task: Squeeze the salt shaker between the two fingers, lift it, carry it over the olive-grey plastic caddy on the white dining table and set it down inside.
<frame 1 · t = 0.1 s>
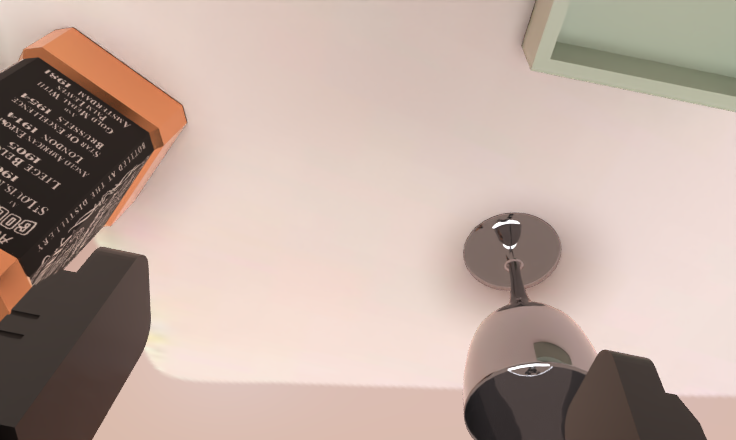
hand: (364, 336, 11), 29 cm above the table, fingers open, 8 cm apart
whiskey bottle: (100, 120, 42), on the table
wine glass: (511, 251, 45), on the table
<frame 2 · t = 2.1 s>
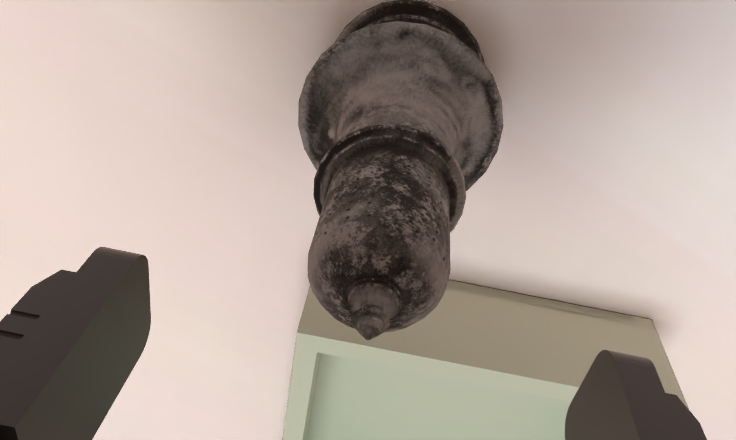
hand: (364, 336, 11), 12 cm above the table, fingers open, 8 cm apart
salt shaker: (405, 78, 20), on the table
caddy: (445, 395, 29), on the table
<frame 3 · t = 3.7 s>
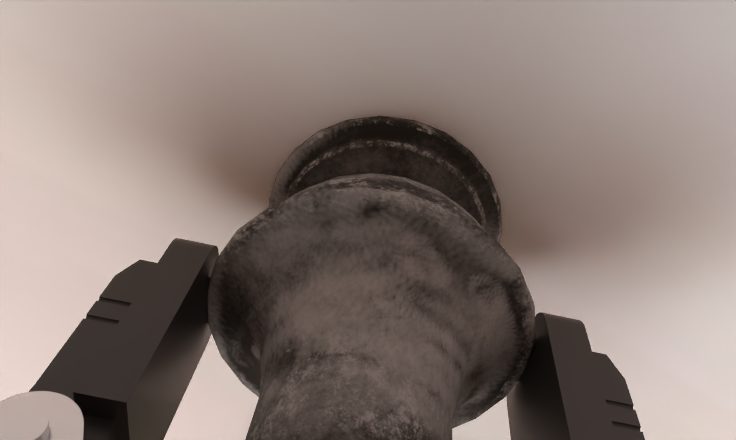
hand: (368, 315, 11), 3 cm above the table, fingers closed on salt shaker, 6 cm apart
salt shaker: (384, 219, 14), on the table, touching gripper
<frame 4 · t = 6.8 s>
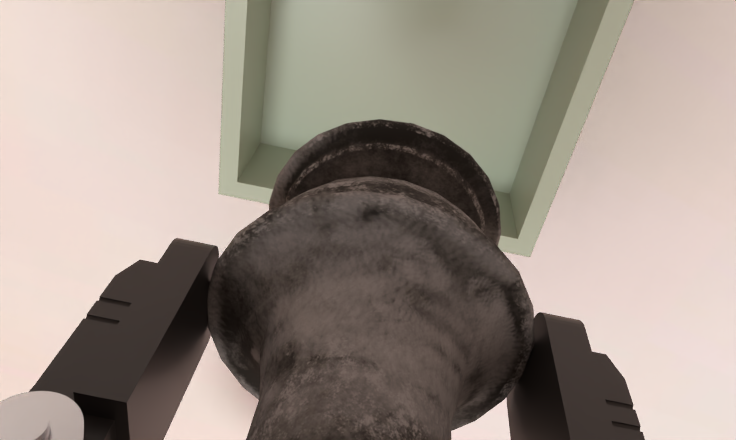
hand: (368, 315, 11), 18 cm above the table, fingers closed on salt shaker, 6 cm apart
salt shaker: (383, 222, 14), point 15 cm above the table, touching gripper
caddy: (412, 39, 26), on the table
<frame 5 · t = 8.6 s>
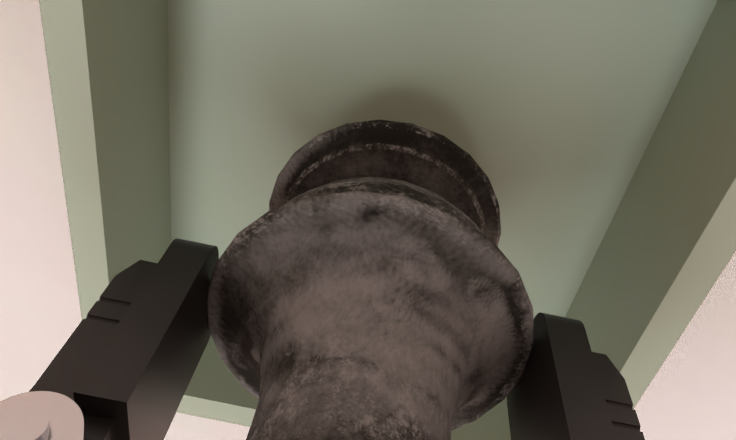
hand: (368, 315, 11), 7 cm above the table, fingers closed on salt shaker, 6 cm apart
salt shaker: (383, 222, 14), point 3 cm above the table, touching gripper
caddy: (395, 153, 17), on the table
when the fingers open (6 cm above the table, at t = 9.8 s): salt shaker drops 2 cm, resting on caddy.
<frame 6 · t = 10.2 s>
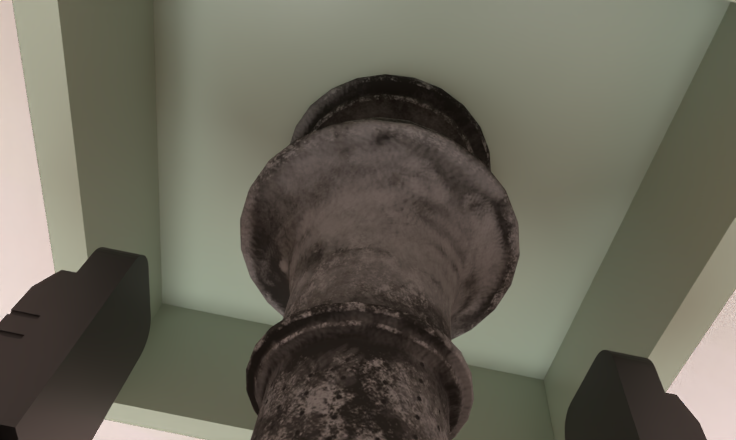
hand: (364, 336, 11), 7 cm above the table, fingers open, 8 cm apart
salt shaker: (388, 169, 16), resting on caddy
caddy: (391, 164, 16), on the table
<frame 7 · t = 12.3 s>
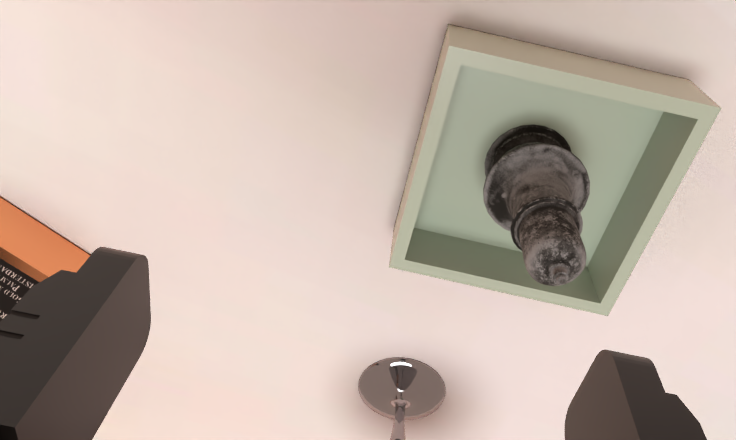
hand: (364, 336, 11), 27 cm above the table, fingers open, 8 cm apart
salt shaker: (527, 163, 37), resting on caddy
whiskey bottle: (24, 267, 46), on the table
caddy: (527, 161, 37), on the table
wine glass: (401, 387, 49), on the table
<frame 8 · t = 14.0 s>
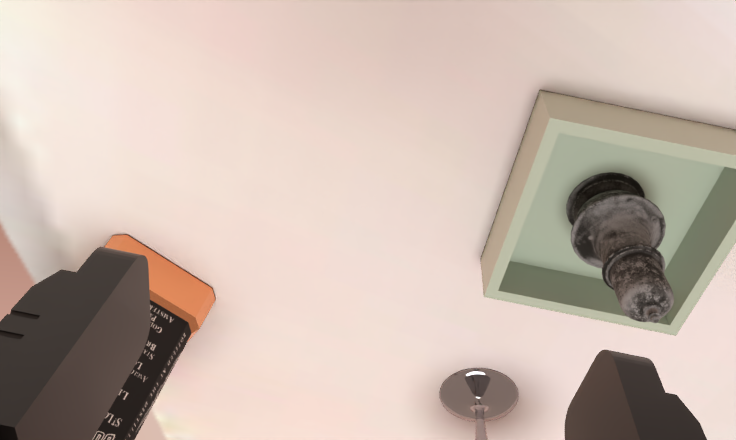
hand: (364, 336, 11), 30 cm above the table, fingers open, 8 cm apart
salt shaker: (604, 203, 42), resting on caddy
whiskey bottle: (144, 294, 52), on the table
caddy: (603, 201, 42), on the table
wine glass: (478, 393, 55), on the table
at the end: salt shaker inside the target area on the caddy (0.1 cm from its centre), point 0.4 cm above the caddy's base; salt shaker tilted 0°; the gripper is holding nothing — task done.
